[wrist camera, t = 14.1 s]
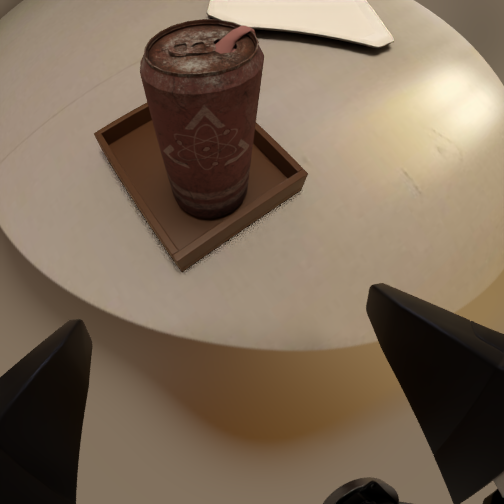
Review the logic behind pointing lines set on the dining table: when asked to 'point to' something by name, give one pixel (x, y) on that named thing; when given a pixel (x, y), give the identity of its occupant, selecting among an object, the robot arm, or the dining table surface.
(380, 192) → the dining table surface
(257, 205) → the tray
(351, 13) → the plate
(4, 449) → the robot arm
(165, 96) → the can
